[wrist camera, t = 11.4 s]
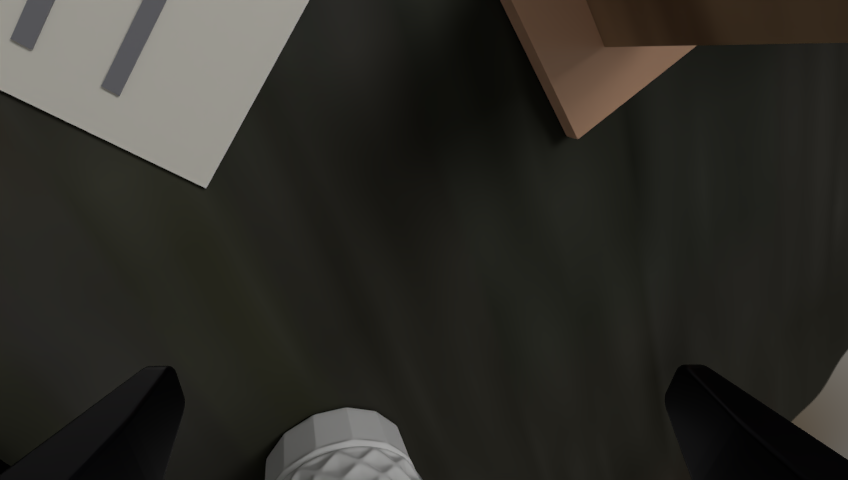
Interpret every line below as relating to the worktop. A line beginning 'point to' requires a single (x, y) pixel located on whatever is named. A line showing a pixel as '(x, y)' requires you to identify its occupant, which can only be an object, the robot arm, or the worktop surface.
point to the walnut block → (719, 22)
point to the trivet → (582, 61)
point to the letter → (146, 70)
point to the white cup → (341, 449)
